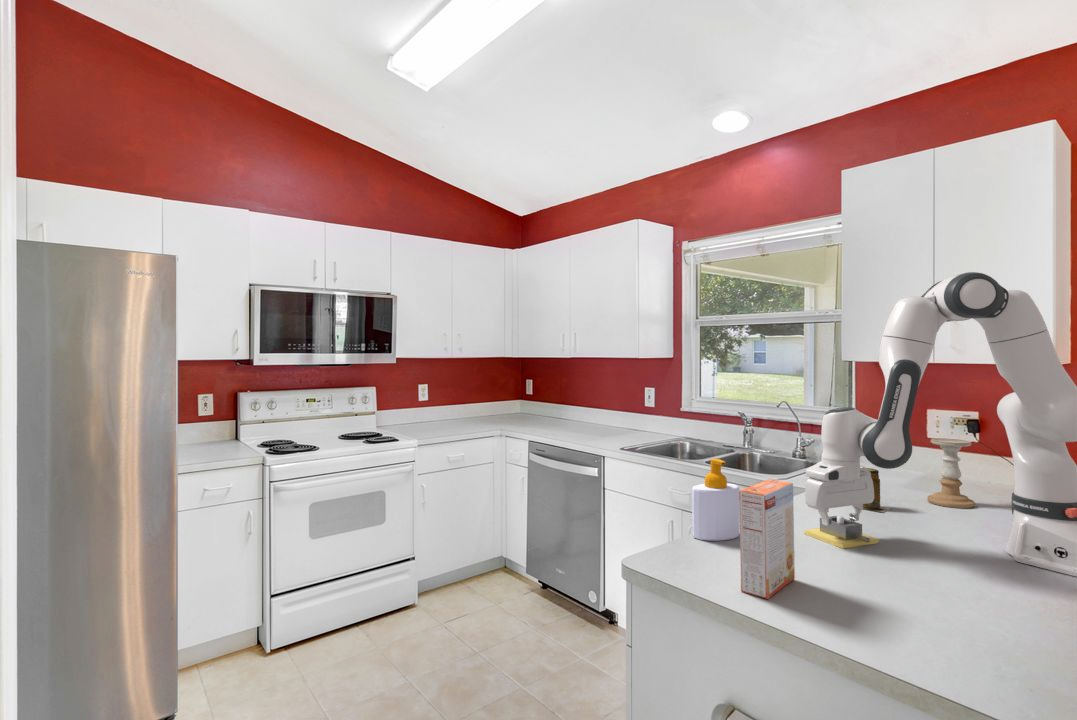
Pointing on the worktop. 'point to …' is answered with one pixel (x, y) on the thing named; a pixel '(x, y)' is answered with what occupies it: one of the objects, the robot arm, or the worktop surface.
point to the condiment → (875, 493)
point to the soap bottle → (715, 507)
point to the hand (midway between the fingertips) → (840, 522)
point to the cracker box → (766, 537)
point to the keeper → (837, 541)
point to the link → (844, 529)
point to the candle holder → (950, 476)
